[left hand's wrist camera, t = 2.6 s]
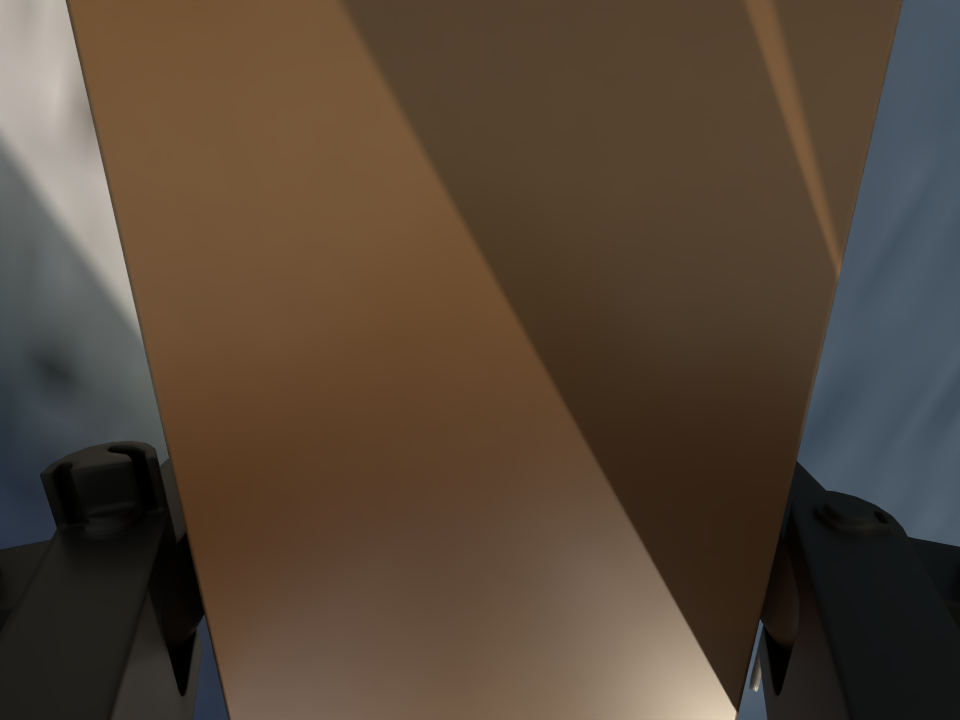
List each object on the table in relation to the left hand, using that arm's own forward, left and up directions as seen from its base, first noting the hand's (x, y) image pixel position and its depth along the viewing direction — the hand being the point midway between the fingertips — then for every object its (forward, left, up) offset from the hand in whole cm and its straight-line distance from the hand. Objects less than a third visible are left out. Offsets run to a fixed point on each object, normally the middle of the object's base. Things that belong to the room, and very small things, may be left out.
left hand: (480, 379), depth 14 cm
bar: (+7, +2, -1) cm, 7 cm away
